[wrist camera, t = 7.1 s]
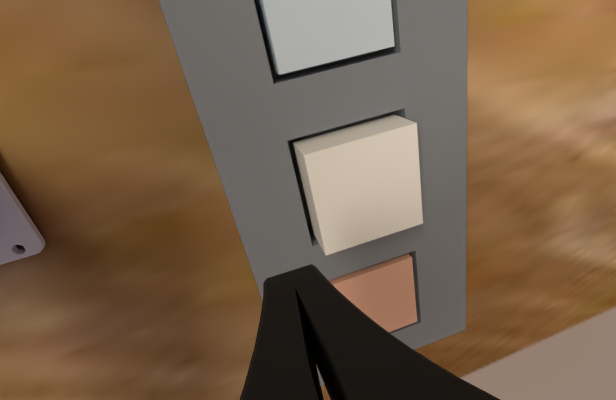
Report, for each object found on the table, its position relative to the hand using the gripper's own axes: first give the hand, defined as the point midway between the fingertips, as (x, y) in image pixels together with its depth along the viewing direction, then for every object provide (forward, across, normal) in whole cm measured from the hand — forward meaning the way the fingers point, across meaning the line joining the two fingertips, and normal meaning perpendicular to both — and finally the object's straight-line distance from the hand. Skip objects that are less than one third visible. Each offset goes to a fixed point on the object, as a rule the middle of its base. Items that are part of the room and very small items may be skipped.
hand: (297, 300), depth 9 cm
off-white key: (+8, -4, +1) cm, 9 cm away
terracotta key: (+9, -5, +9) cm, 13 cm away
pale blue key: (+9, -4, -7) cm, 13 cm away
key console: (+10, -4, +1) cm, 11 cm away
